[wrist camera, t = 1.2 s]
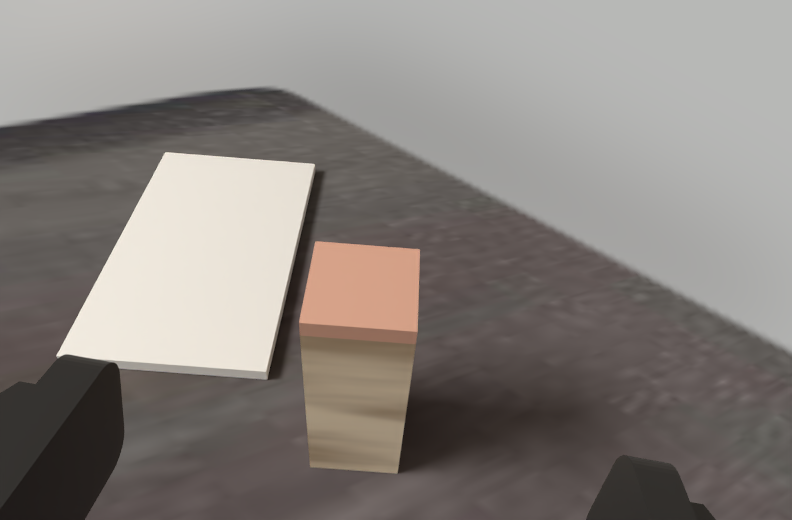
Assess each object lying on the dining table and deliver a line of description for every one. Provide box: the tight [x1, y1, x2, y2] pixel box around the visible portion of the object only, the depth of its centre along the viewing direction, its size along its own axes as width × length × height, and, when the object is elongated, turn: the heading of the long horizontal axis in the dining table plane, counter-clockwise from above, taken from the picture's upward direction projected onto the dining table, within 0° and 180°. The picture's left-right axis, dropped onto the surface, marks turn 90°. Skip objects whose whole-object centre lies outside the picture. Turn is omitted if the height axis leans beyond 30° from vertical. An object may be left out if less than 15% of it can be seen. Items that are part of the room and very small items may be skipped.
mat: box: [57, 152, 315, 380], centre depth 43 cm, size 20×12×1 cm, turn 177°
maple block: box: [299, 241, 420, 474], centre depth 30 cm, size 5×5×12 cm
